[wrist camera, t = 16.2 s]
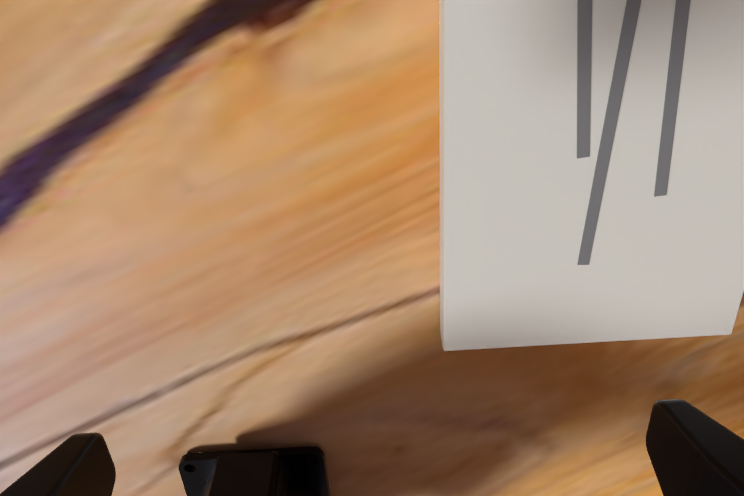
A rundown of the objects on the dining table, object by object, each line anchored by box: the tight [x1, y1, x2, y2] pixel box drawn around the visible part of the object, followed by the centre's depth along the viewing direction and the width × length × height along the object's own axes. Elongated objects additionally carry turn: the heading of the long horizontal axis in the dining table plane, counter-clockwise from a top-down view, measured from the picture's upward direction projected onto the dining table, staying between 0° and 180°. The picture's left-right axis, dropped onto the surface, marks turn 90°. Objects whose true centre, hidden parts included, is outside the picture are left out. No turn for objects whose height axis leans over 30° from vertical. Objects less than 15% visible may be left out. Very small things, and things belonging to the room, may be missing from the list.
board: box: [439, 0, 744, 351], centre depth 18 cm, size 21×11×1 cm, turn 3°
